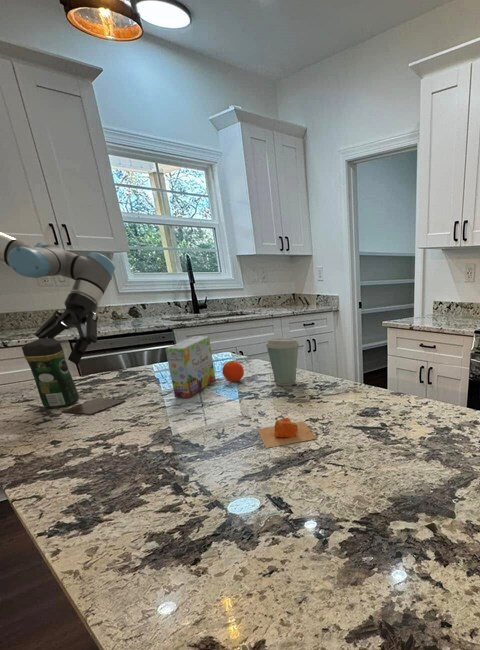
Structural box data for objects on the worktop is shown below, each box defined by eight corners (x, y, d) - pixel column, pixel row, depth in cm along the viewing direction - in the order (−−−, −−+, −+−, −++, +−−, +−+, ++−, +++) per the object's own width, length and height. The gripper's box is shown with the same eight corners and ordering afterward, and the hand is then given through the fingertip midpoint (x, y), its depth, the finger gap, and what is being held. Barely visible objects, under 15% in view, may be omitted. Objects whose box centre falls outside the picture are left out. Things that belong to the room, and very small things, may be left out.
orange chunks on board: (303, 421, 108) (302, 406, 106) (317, 439, 98) (316, 422, 96) (256, 429, 104) (254, 413, 102) (266, 448, 94) (263, 430, 92)
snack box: (192, 398, 127) (182, 348, 120) (174, 398, 127) (163, 348, 120) (217, 379, 146) (209, 335, 139) (201, 379, 146) (192, 335, 139)
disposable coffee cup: (274, 378, 146) (269, 335, 139) (305, 378, 145) (301, 335, 139) (266, 387, 136) (260, 341, 130) (299, 387, 136) (295, 341, 129)
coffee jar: (54, 399, 126) (32, 337, 118) (83, 397, 128) (63, 335, 120) (38, 410, 118) (13, 343, 110) (70, 407, 119) (47, 342, 111)
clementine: (217, 382, 142) (213, 361, 139) (231, 377, 148) (228, 357, 145) (235, 385, 139) (232, 364, 136) (249, 379, 145) (246, 359, 142)
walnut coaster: (61, 412, 116) (61, 410, 116) (98, 399, 126) (98, 397, 126) (90, 415, 114) (90, 413, 113) (125, 401, 124) (125, 400, 124)
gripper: (127, 309, 127) (100, 370, 120) (62, 307, 132) (32, 365, 125) (107, 292, 120) (77, 355, 113) (40, 290, 125) (7, 351, 118)
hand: (54, 360), depth 119 cm, fingers open, 13 cm apart
